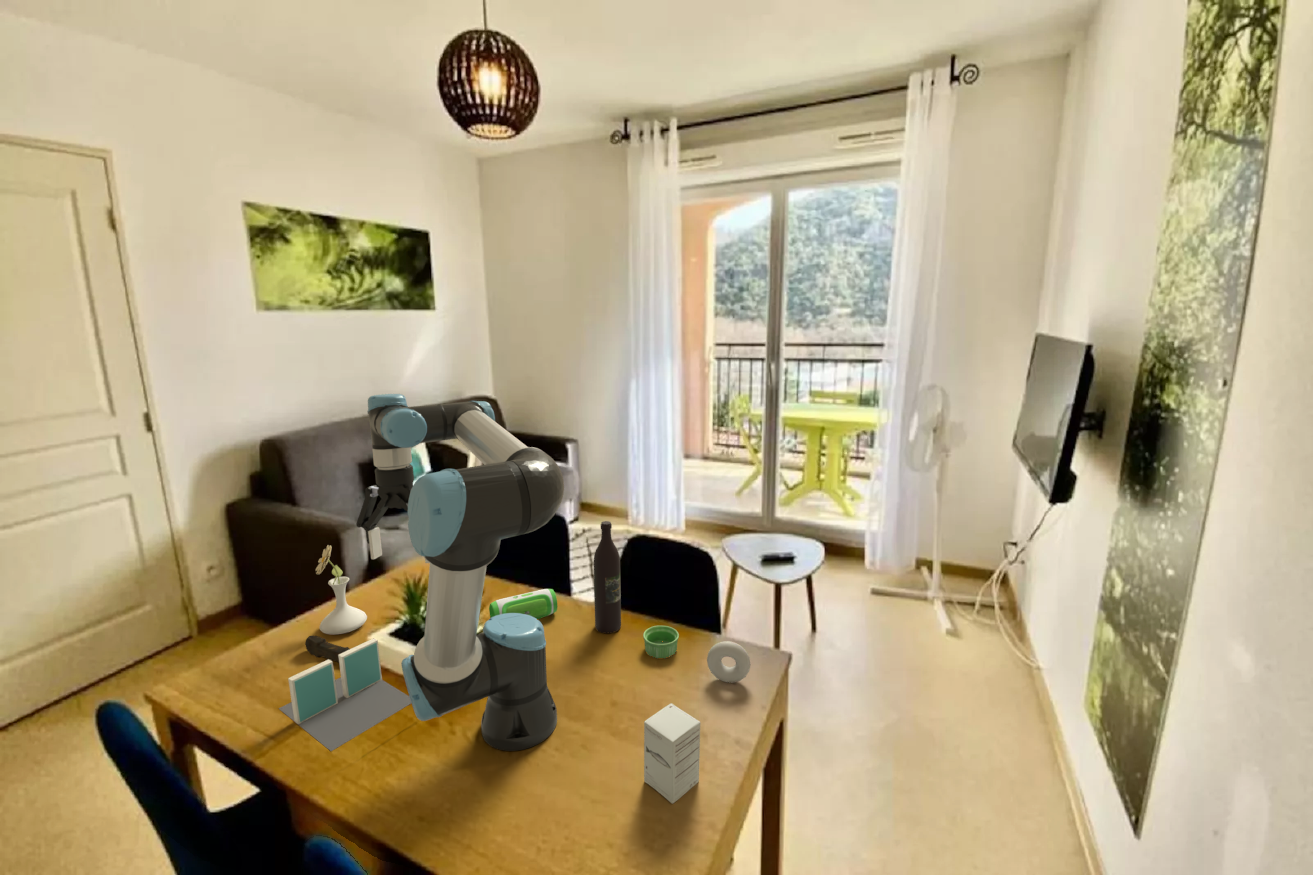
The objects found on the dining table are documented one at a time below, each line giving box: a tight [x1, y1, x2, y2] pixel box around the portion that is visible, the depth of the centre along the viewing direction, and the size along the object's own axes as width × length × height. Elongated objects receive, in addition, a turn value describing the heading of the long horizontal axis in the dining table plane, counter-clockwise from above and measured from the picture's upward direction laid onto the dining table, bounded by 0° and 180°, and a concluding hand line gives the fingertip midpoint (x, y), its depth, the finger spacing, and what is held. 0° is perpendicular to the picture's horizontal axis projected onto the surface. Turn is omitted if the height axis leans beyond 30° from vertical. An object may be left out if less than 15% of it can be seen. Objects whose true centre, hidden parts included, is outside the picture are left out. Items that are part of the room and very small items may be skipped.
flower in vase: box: [315, 544, 368, 636], centre depth 151 cm, size 13×11×25 cm
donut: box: [706, 640, 752, 683], centre depth 130 cm, size 10×4×10 cm, turn 76°
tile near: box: [287, 659, 338, 725], centre depth 119 cm, size 2×8×10 cm, turn 146°
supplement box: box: [643, 702, 701, 805], centre depth 101 cm, size 7×7×13 cm
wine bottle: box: [593, 520, 622, 634], centre depth 151 cm, size 7×7×30 cm
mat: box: [278, 676, 412, 752], centre depth 122 cm, size 22×18×1 cm
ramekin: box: [642, 625, 680, 659], centre depth 143 cm, size 9×9×4 cm
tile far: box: [338, 638, 383, 698], centre depth 127 cm, size 2×8×10 cm, turn 146°
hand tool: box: [304, 635, 351, 663], centre depth 140 cm, size 19×4×5 cm, turn 65°
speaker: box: [488, 588, 559, 620], centre depth 157 cm, size 18×7×8 cm, turn 119°
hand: (403, 559), depth 126 cm, fingers open, 13 cm apart
